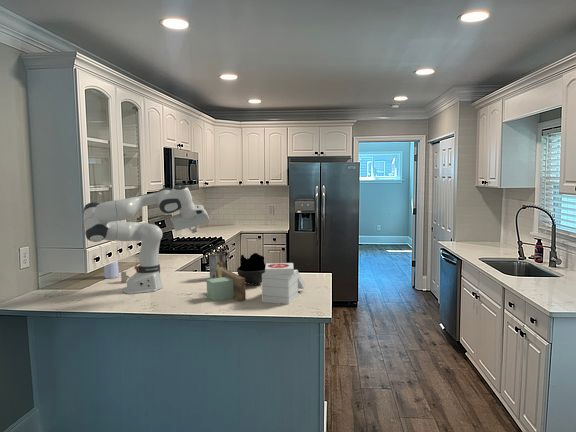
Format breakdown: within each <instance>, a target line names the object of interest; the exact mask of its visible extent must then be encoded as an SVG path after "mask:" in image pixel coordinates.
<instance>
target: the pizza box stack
mask: <svg viewBox="0 0 576 432" xmlns="http://www.w3.org/2000/svg"><path fill="white" fill-rule="evenodd" d="M265 265H266V267H265V273H263V274H262V282H261V299H262V301H261V302H264V303H273V304H283V305H284V304H286V305H290V304H291V303H292V302H294V300H295V299H297V298H298V297H299V289H302V290H304V289H305V286H306V283H305V280H303V277H302V276H301V274H300V272H299V270H298V269H294V262H275V263H270V262H269V263H268V262H267V263H265Z"/></svg>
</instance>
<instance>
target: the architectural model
mask: <svg viewBox="0 0 576 432" xmlns="http://www.w3.org/2000/svg"><path fill="white" fill-rule="evenodd" d="M127 274H128V273H127V271H123V270H121V271H120V278H121V282H122V283H125V284H127V281H128V279H129V278H130V277H131V276H129V275H127Z"/></svg>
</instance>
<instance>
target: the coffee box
mask: <svg viewBox="0 0 576 432" xmlns="http://www.w3.org/2000/svg"><path fill="white" fill-rule="evenodd" d="M226 259H227V258H226V253H222V252H218V253H214V254H209V255H208V263H209V264H208V265H209V266H208V267H209V279H214V278H221V277H222V273H221V270H227V264H226V262H227V260H226Z"/></svg>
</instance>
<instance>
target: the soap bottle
mask: <svg viewBox="0 0 576 432" xmlns="http://www.w3.org/2000/svg"><path fill="white" fill-rule="evenodd" d="M103 272H104V273H103V274H104V275H103V277H104V278H105V279H116V278H119V276H120V271H119V261H118V260H117V261H116V262H113V263H111V264H109V265H107V266H104V265H103Z"/></svg>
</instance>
